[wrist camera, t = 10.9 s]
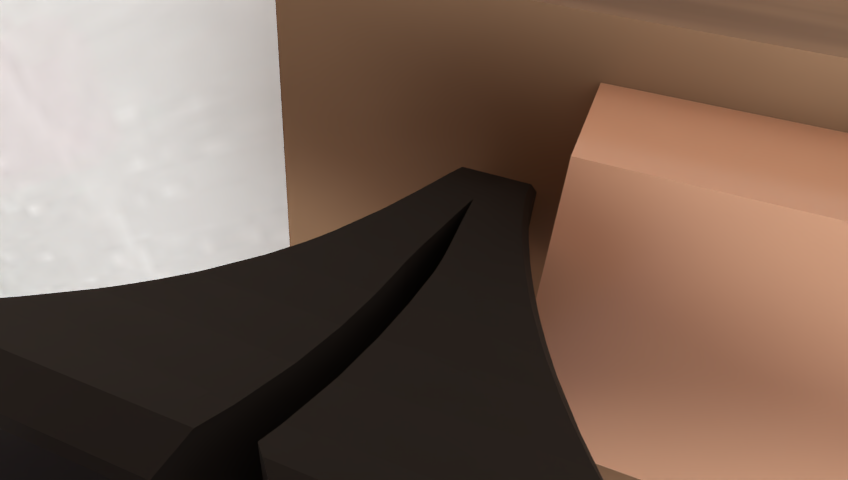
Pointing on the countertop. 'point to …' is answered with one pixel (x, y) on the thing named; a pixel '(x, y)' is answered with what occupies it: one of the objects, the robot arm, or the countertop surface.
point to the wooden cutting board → (521, 89)
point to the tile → (702, 291)
